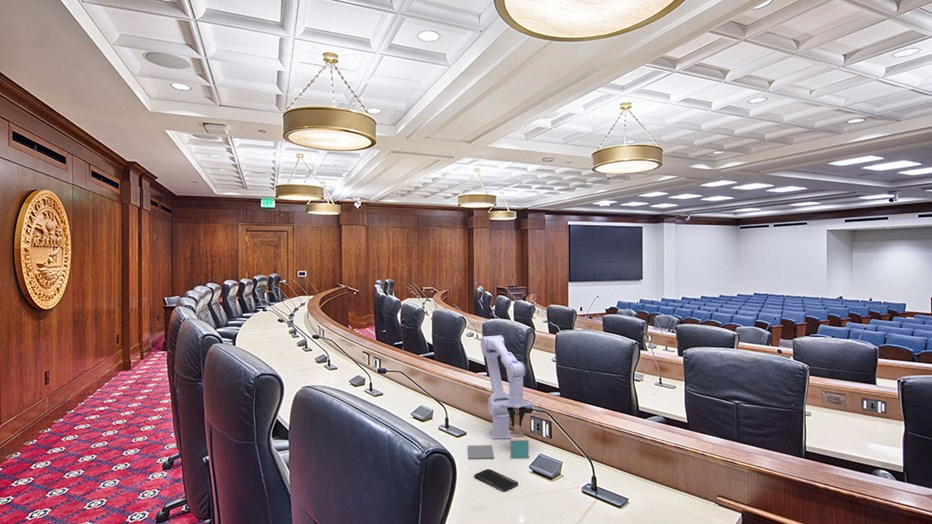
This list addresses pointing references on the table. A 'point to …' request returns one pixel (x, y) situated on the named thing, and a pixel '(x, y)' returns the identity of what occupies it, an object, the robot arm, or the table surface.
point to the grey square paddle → (516, 427)
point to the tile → (519, 448)
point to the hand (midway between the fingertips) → (516, 425)
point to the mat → (480, 452)
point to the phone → (496, 480)
